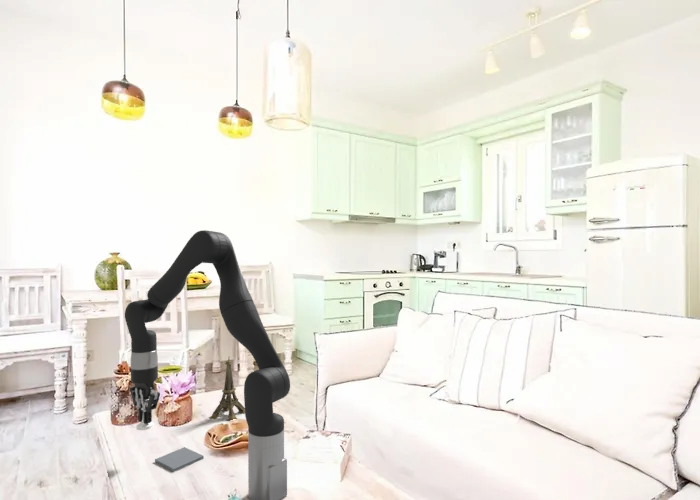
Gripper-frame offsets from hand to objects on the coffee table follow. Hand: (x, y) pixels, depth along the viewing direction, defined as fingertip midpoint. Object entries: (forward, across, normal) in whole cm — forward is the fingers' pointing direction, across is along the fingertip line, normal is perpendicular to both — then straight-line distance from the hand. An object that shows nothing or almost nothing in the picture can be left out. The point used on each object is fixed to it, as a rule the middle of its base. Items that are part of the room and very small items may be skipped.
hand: (145, 421), depth 134 cm
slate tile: (+12, -9, -6) cm, 16 cm away
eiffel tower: (+12, +9, -38) cm, 41 cm away
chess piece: (+2, 0, 0) cm, 2 cm away
